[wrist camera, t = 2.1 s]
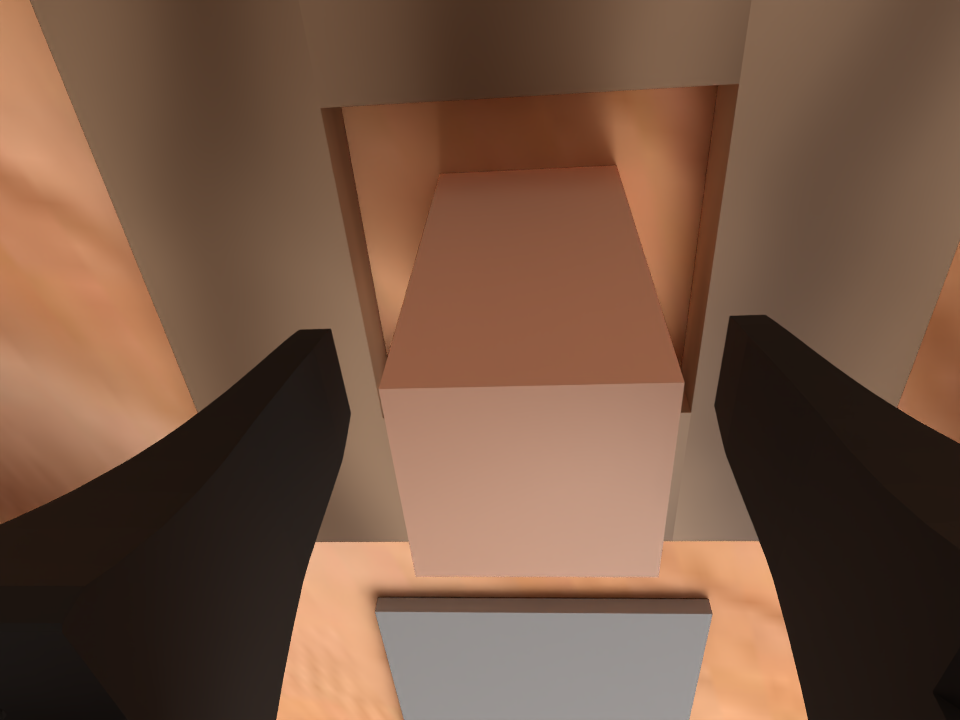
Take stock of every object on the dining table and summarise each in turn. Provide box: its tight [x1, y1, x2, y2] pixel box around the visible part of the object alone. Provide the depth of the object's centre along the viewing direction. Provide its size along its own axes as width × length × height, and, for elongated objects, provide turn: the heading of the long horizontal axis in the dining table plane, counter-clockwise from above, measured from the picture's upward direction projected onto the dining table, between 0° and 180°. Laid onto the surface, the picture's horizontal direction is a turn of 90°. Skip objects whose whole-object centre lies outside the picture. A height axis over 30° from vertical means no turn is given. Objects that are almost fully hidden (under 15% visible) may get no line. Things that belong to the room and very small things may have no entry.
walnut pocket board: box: [30, 0, 960, 542], centre depth 16 cm, size 18×18×2 cm
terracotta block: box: [379, 165, 685, 577], centre depth 13 cm, size 4×4×8 cm
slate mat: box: [375, 598, 712, 720], centre depth 28 cm, size 12×12×1 cm
